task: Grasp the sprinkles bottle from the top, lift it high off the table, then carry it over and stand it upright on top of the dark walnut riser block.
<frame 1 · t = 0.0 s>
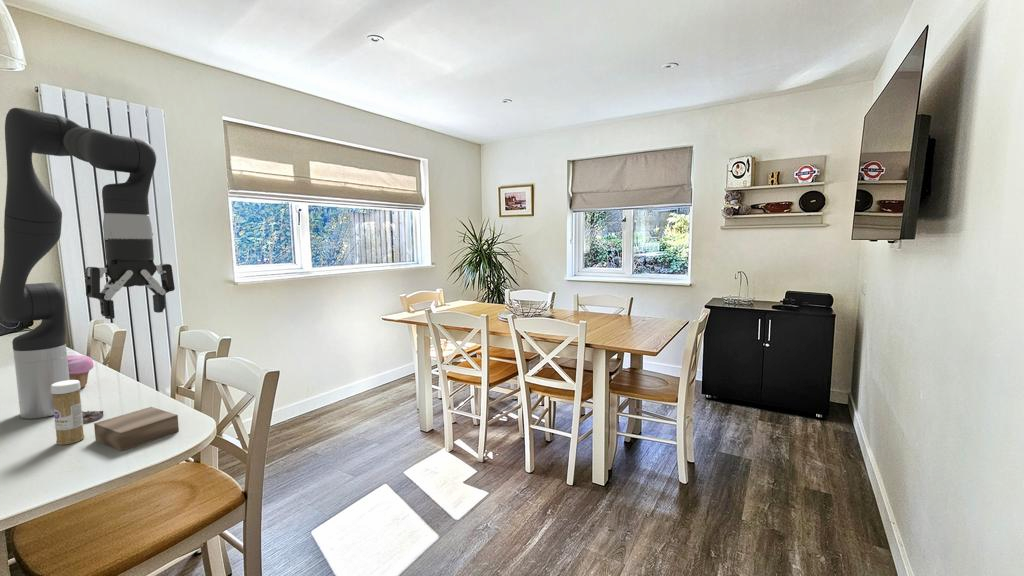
hand: (135, 315, 92), 29 cm above the table, tool pointing down, fingers open, 8 cm apart
walnut riser: (138, 435, 102), on the table
sprinkles bottle: (71, 441, 99), on the table
cupcake: (75, 388, 132), on the table
donut: (84, 422, 110), on the table
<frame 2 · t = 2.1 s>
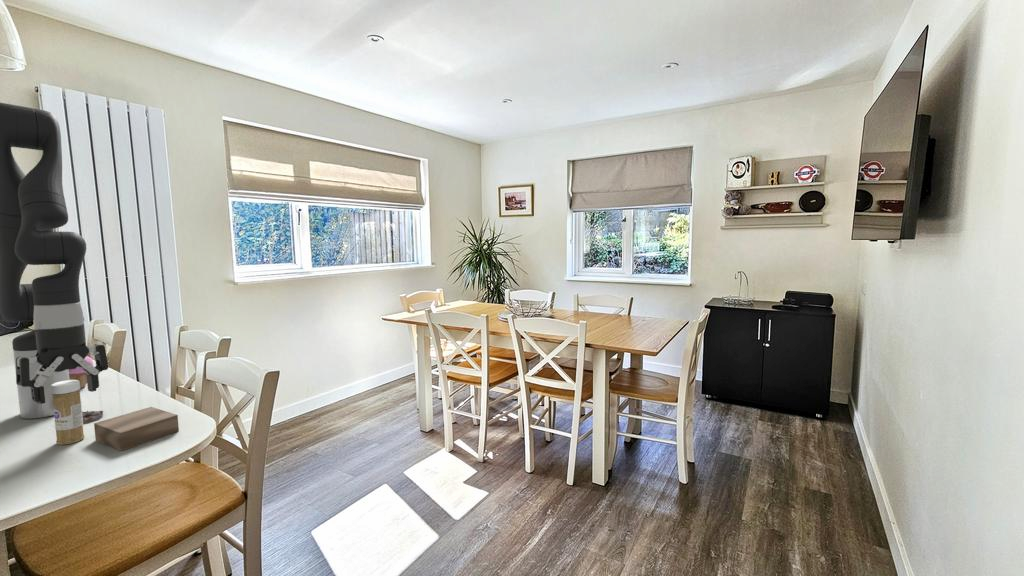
hand: (67, 396, 98), 10 cm above the table, tool pointing down, fingers open, 8 cm apart
nothing on the table moved.
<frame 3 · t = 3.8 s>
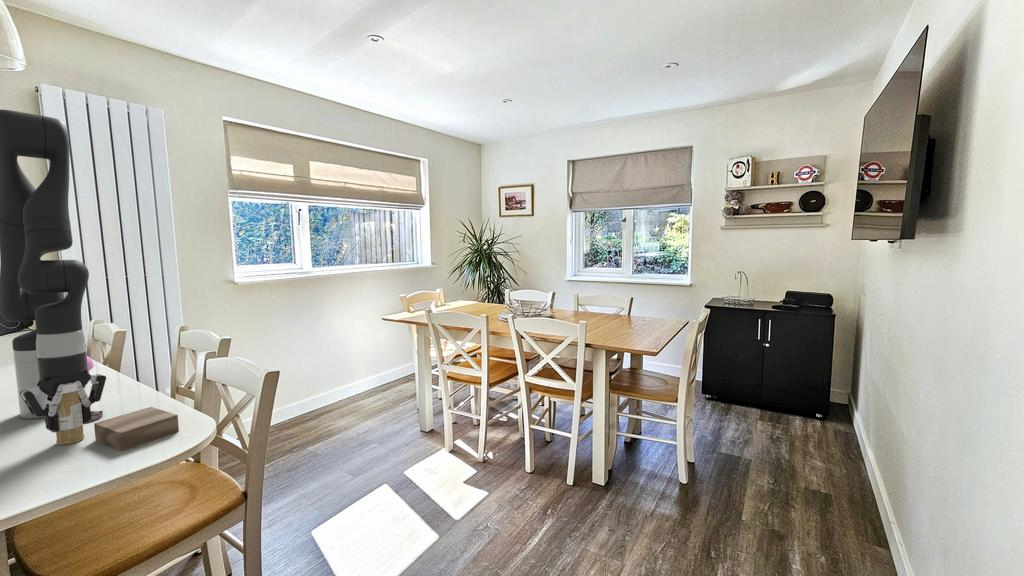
hand: (69, 426, 99), 3 cm above the table, tool pointing down, fingers closed on sprinkles bottle, 4 cm apart
sprinkles bottle: (71, 441, 99), on the table, touching gripper
everything else where it was.
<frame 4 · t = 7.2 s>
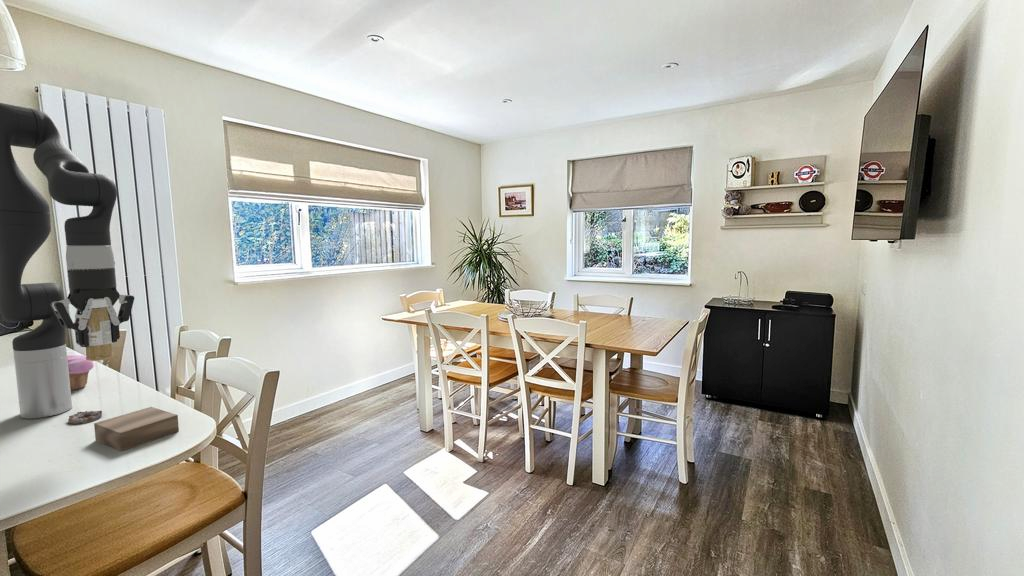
hand: (98, 343, 98), 22 cm above the table, tool pointing down, fingers closed on sprinkles bottle, 4 cm apart
sprinkles bottle: (100, 359, 98), point 18 cm above the table, touching gripper
everything else where it was.
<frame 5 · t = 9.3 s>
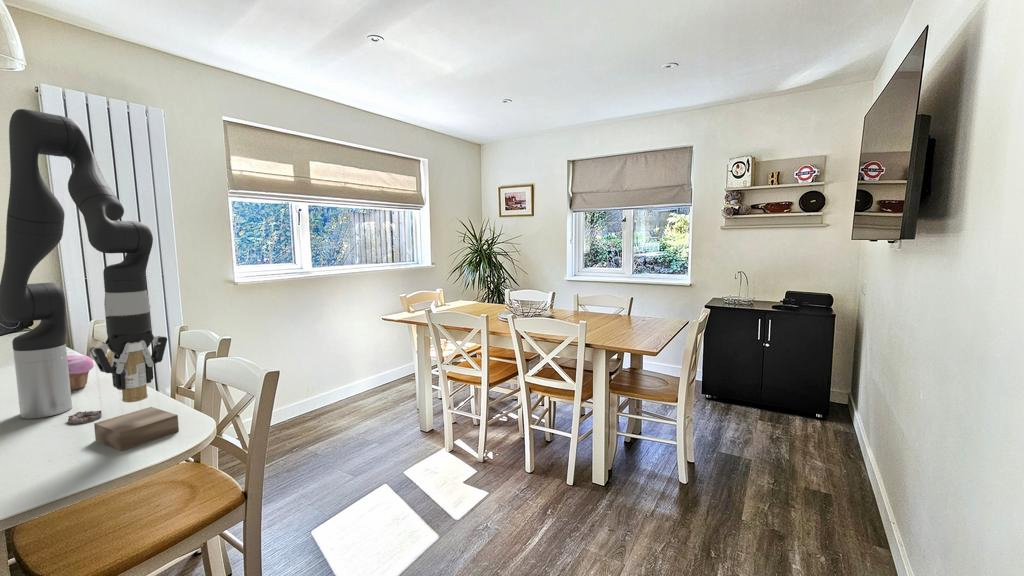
hand: (134, 385, 101), 12 cm above the table, tool pointing down, fingers closed on sprinkles bottle, 4 cm apart
sprinkles bottle: (135, 400, 101), point 8 cm above the table, touching gripper
everything else where it was.
when the fingers open (9 cm above the table, at t = 10.8 s): sprinkles bottle drops 1 cm, resting on walnut riser.
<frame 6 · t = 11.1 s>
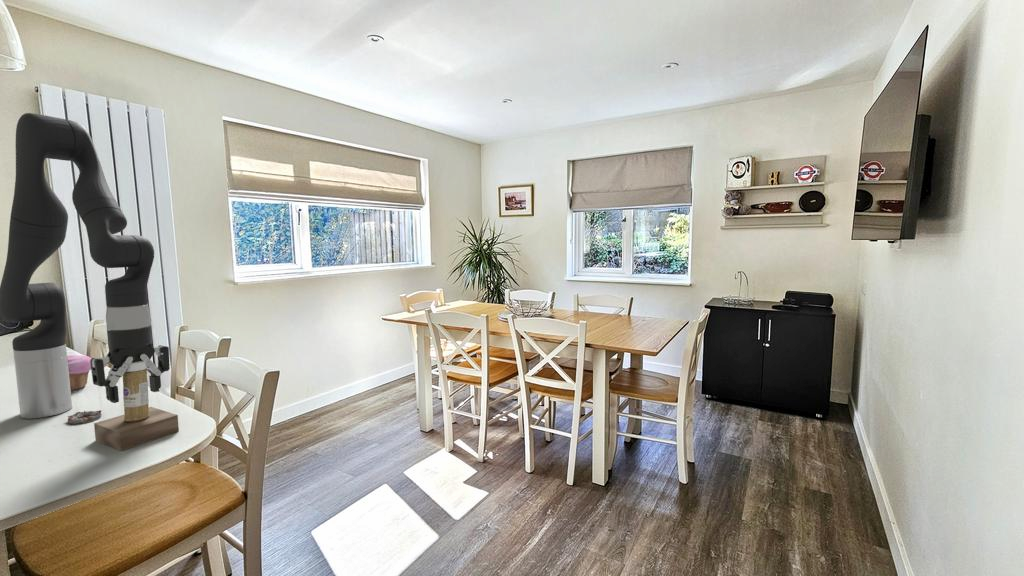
hand: (135, 396, 101), 9 cm above the table, tool pointing down, fingers open, 7 cm apart
sprinkles bottle: (137, 419, 102), point 4 cm above the table, touching walnut riser
everything else where it was.
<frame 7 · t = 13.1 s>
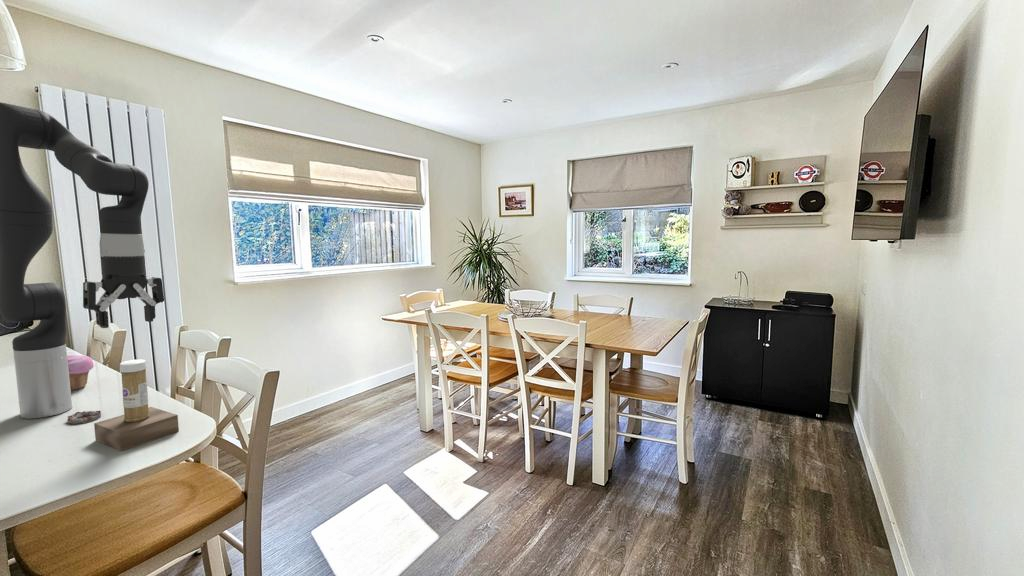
hand: (127, 324, 102), 25 cm above the table, tool pointing down, fingers open, 8 cm apart
nothing on the table moved.
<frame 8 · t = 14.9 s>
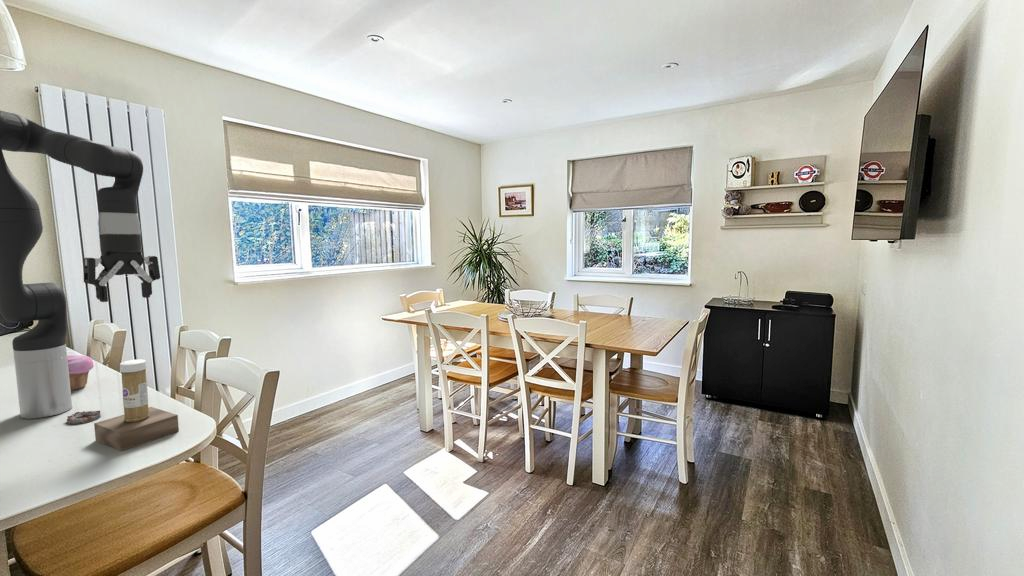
hand: (125, 299, 108), 30 cm above the table, tool pointing down, fingers open, 8 cm apart
nothing on the table moved.
at the end: sprinkles bottle inside the target area on the walnut riser (0.1 cm from its centre), point 3.8 cm above the walnut riser's base; sprinkles bottle tilted 0°; the gripper is holding nothing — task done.
